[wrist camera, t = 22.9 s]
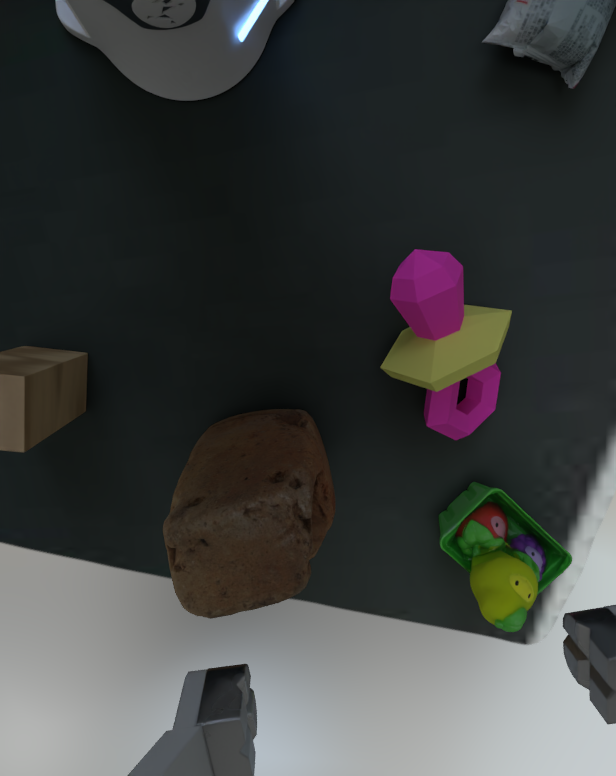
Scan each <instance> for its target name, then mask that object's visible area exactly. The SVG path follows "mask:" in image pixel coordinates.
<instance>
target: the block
mask: <svg viewBox="0 0 616 776" xmlns="http://www.w3.org/2000/svg"><path fill="white" fill-rule="evenodd" d="M334 514H335V493H334V488H333V482H332V477H331V472H330V467H329V463H328V459H327V455H326V452H325V448H324V445H323V442H322V439H321V436H320V433H319V431H318V428H317V426H316V424H315V422H314V420H313V418H312V417H311V416H310V415H309V414H308V413H307V412H306V411H304V410H300V409H294V410H292V409H272V410H262V411H255V412H249V413H244V414H240V415H236V416H232V417H229V418H227V419H224V420H221V421H219V422H217V423H215V424H213V425H211V426H210V427H209V428H208V429H207V430H206V431H205V432H204V434H203V435H202V436H201V437H200V439H199V440H198V441H197V443H196V445H195V446H194V448H193V450H192V452H191V454H190V457H189V460H188V462H187V464H186V466H185V468H184V470H183V472H182V474H181V476H180V478H179V481H178V484H177V487H176V489H175V492H174V495H173V499H172V504H171V509H170V514H169V516H168V517H167V518H166V520H165V521H164V526H163V535H164V540H165V545H166V548H167V554H168V560H169V566H170V572H171V576H172V581H173V585H174V589H175V593H176V595H177V597H178V599H179V600H180V602H181V604H182V606H183V608H184V609H186V610H187V611H188V612H190V613H192V614H194V615H197V616H203V617H207V618H216V617H221V616H227V615H232V614H235V613H238V612H241V611H247V610H253V609H257V608H261V607H264V606H268V605H272V604H275V603H279V602H281V601H284V600H286V599H289V598H291V597H293V596H295V595H297V594H299V593H300V592H301V591H302V590H303V589H304V588H306V586H307V583H308V580H309V578H310V575H311V566H310V562H309V560H310V559H311V558H313V557H314V556H315V555H316V553H317V551H318V549H319V547H320V546H321V544H322V541H323V540H324V538H325V535H326V533H327V531H328V530H329V529H330V527H331V525H332V522H333V518H334Z"/></svg>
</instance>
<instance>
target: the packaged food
mask: <svg viewBox="0 0 616 776" xmlns="http://www.w3.org/2000/svg"><path fill="white" fill-rule="evenodd" d="M615 6H616V0H508V1H507V3H506V6H505V8H504V10H503V12H502V14H501V17H500V19H499V21H498V23H497V24H496V26H495V28H494V29H493V30H492V31H491V33H490V34H489V35H488V36H487V37H486V38H485V39H484V40H483V42H482V43H490V44H496V45H501V46H505V47H510V48H514V49H513V52H514V55H515V56H518V57H524V55H525V56H527V57H529V58H532V59H531V60H534V61H536V62H540V63H544V64H548V65H550V66H552V69H553V70H559V71H560V72H561V77H563V78H564V81H565V83H567V84H568V88H572V89H573V88H575V87H576V86H577V85H578V83H579V81H580V80H581V78H582V77H583V75H584V73H585V71H586V70H587V68H588V66H589V64H590V62H591V60H592V58H593V57H594V55H595V53H596V51H597V49H598V47H599V44H600V42H601V39H602V37H603V35H604V32H605V30H606V28H607V25H608V23H609V20H610V18H611V16H612V13H613V11H614V8H615ZM566 80H567V81H566Z"/></svg>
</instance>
